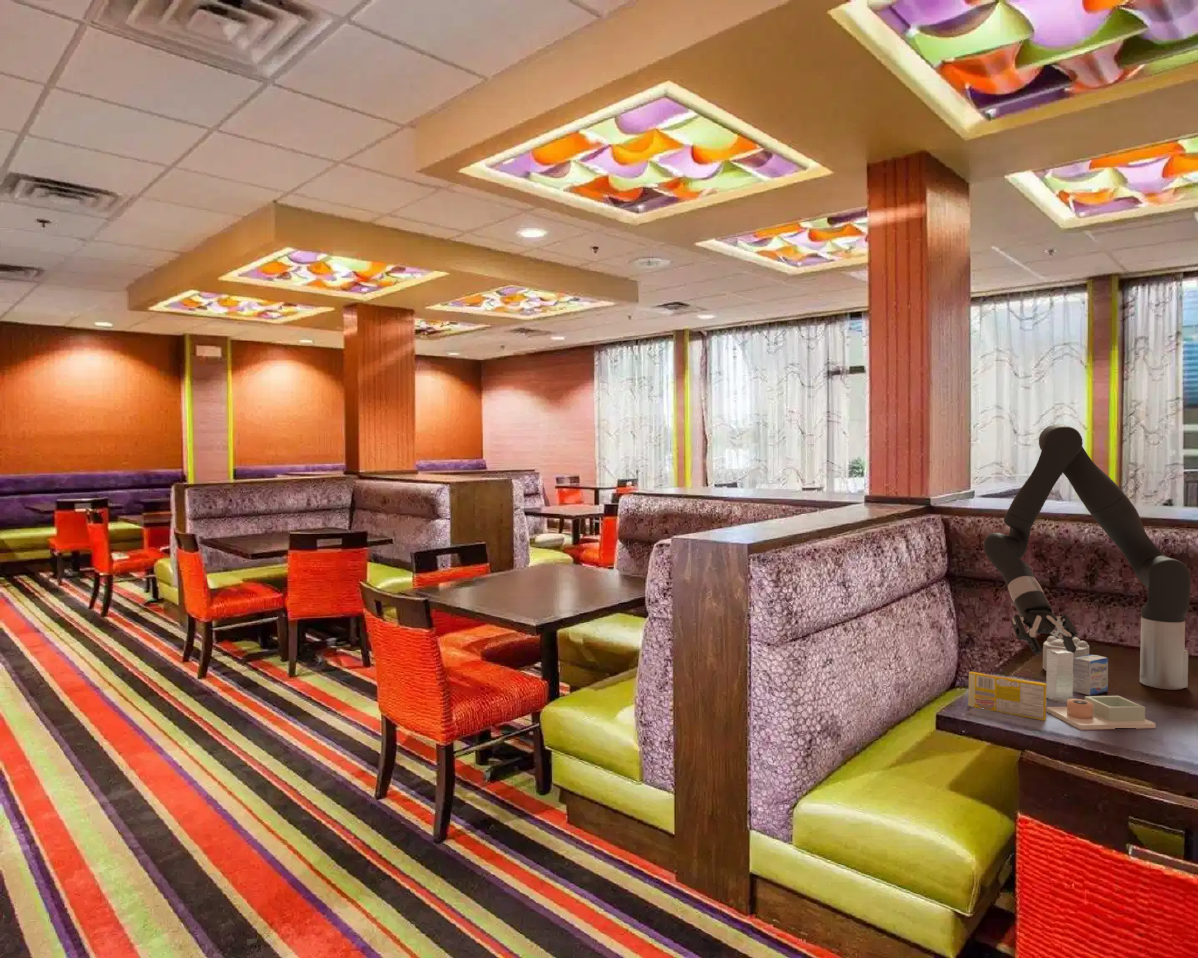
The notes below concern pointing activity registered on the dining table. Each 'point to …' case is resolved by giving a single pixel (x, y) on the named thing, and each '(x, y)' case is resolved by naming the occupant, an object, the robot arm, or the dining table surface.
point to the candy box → (1007, 695)
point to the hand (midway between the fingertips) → (1056, 652)
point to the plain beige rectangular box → (1059, 675)
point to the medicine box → (1090, 674)
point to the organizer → (1102, 713)
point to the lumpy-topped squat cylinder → (1054, 643)
